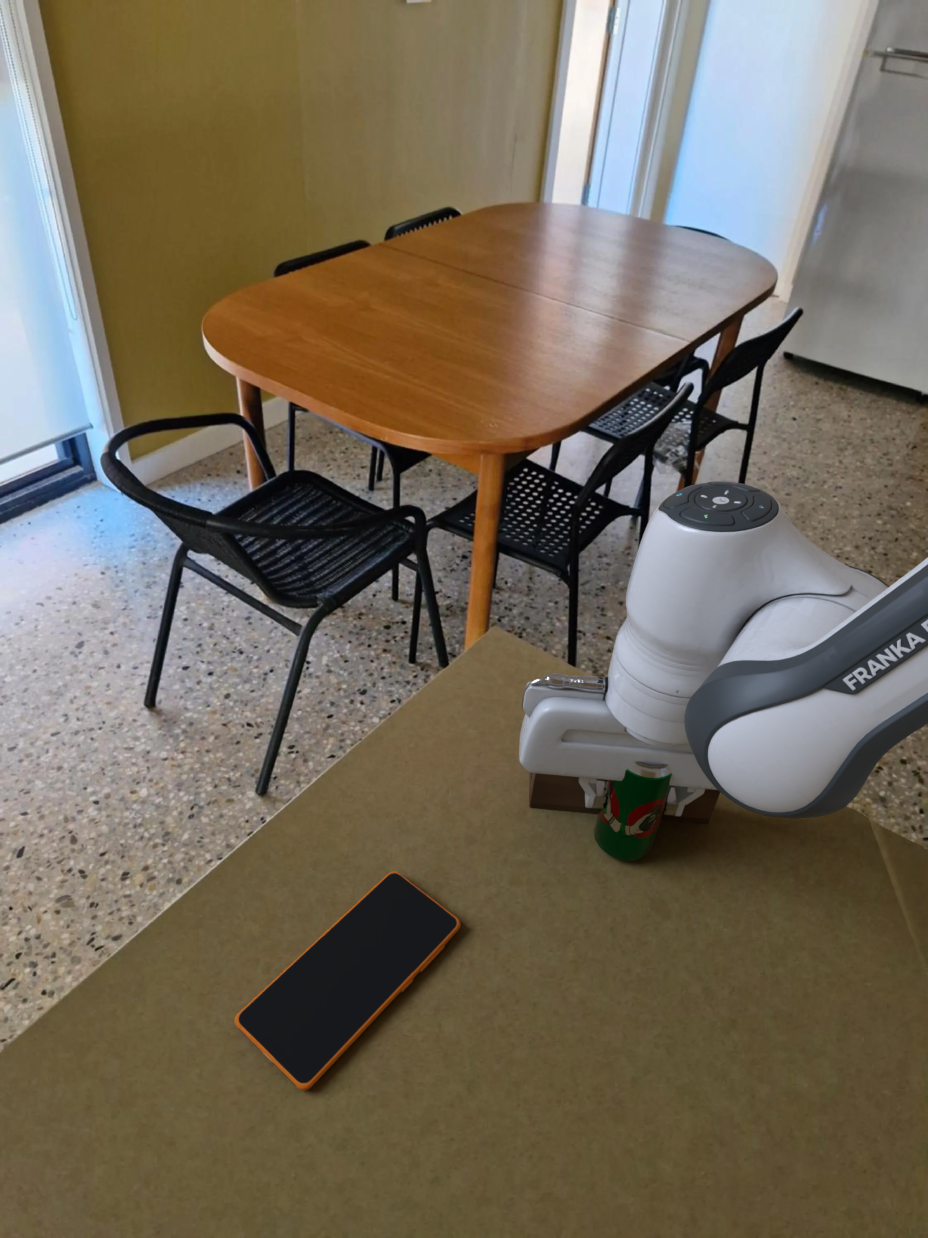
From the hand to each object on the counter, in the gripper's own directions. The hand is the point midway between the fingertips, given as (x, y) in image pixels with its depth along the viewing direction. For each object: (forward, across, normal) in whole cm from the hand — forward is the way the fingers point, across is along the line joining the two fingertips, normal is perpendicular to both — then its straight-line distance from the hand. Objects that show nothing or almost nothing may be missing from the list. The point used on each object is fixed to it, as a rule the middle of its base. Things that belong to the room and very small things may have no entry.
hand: (632, 806), depth 74 cm
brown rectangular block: (+5, 0, +5) cm, 7 cm away
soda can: (+5, 0, 0) cm, 5 cm away
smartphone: (+5, -21, -14) cm, 26 cm away
